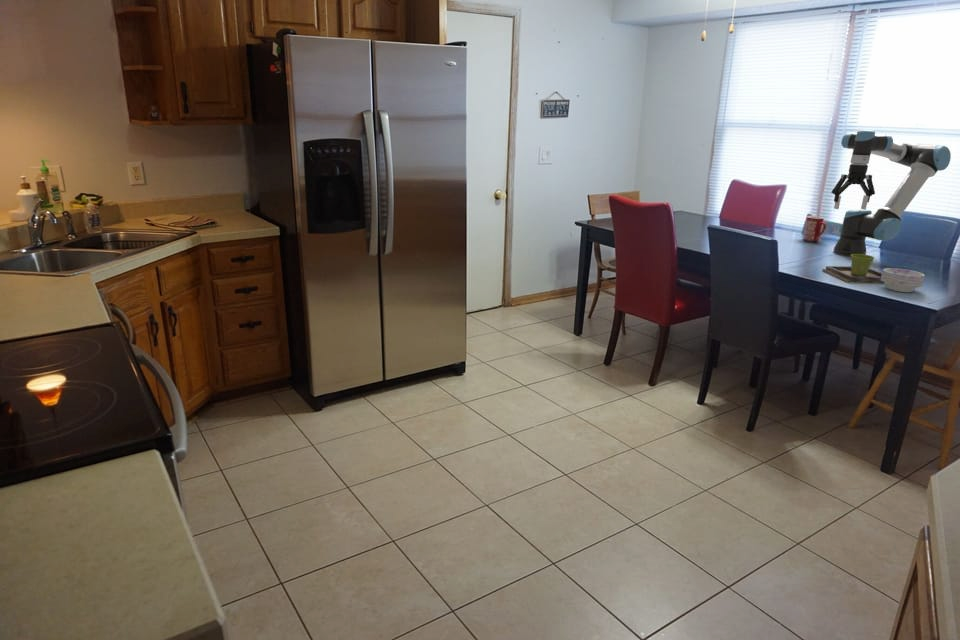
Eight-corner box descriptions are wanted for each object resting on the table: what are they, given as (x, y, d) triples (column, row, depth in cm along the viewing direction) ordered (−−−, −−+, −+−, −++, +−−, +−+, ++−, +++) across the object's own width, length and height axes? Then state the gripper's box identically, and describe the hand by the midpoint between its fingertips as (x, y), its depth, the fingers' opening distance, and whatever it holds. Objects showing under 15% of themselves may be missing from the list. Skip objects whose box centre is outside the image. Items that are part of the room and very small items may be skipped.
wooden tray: (867, 271, 299) (868, 266, 298) (895, 283, 280) (896, 277, 280) (822, 270, 298) (823, 265, 297) (846, 282, 279) (848, 276, 279)
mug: (798, 239, 371) (803, 215, 366) (812, 238, 373) (816, 215, 368) (814, 243, 359) (819, 219, 355) (827, 243, 361) (832, 219, 357)
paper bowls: (904, 284, 278) (908, 267, 276) (929, 295, 264) (934, 276, 261) (870, 284, 278) (875, 266, 275) (893, 294, 263) (898, 276, 261)
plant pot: (843, 271, 294) (847, 253, 291) (864, 272, 293) (869, 254, 290) (851, 276, 285) (856, 257, 282) (873, 278, 284) (878, 259, 281)
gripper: (838, 164, 296) (829, 210, 303) (889, 165, 297) (879, 210, 304) (829, 162, 303) (820, 207, 310) (879, 163, 304) (869, 208, 311)
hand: (849, 209), depth 307 cm, fingers open, 13 cm apart
